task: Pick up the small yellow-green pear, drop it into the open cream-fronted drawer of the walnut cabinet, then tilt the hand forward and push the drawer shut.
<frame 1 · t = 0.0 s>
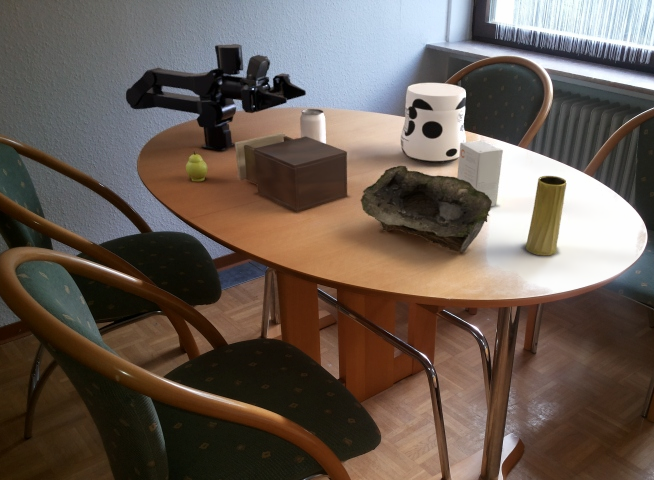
hand: (296, 96, 159), 17 cm above the table, tool horizontal, fingers open, 9 cm apart
drawer: (272, 160, 152), point 5 cm above the table, slide at 7.5 cm
pear: (198, 179, 154), on the table
can: (313, 157, 171), on the table
grey rough hollow block: (424, 241, 129), on the table
cabinet: (302, 195, 148), on the table
vase: (540, 249, 128), on the table
milk container: (431, 158, 174), on the table
small box: (475, 202, 148), on the table
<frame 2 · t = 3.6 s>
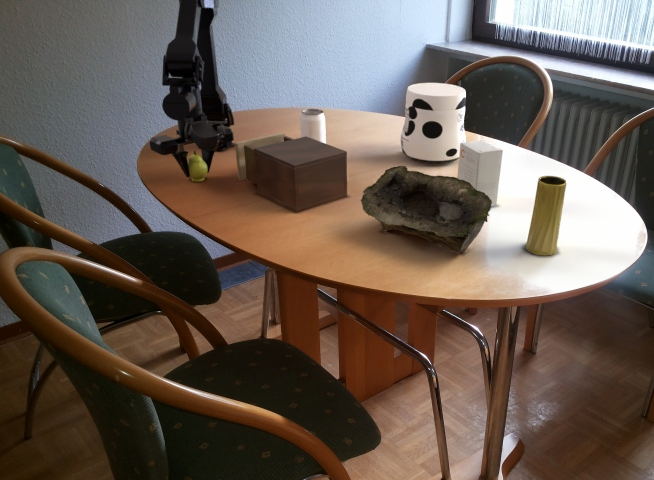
hand: (197, 174, 154), 1 cm above the table, tool pointing down, fingers closed on pear, 5 cm apart
pear: (198, 179, 154), on the table, touching gripper
everything else where it was.
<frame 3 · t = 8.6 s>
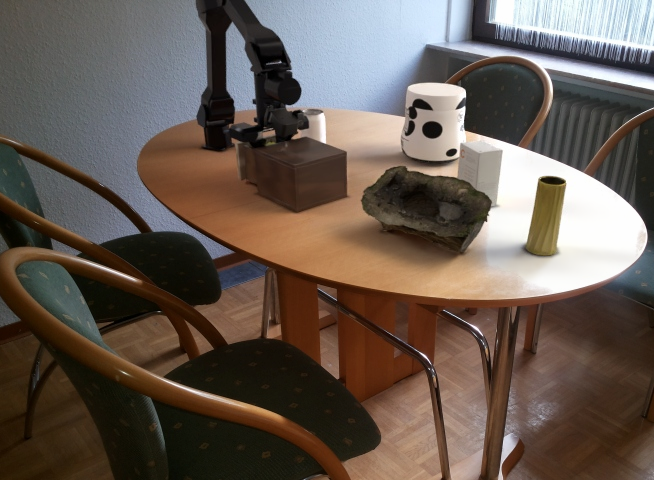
hand: (272, 163, 152), 5 cm above the table, tool pointing down, fingers closed on pear, 5 cm apart
drawer: (272, 160, 152), point 5 cm above the table, slide at 7.5 cm, touching gripper
pear: (273, 168, 153), point 3 cm above the table, touching gripper
everything else where it was.
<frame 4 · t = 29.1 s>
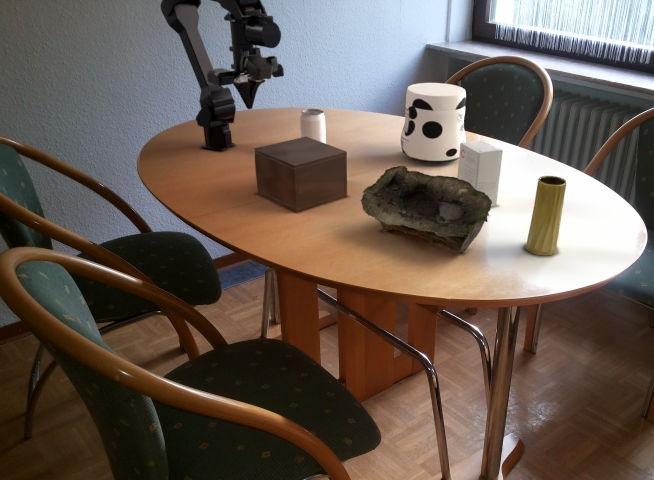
hand: (249, 108, 162), 13 cm above the table, tool pointing down, fingers closed
drawer: (291, 168, 147), point 5 cm above the table, slide at 0.0 cm, touching pear
pear: (292, 182, 149), point 2 cm above the table, touching drawer
everything else where it was.
at the end: pear inside the target area in the cabinet (3.4 cm from its centre), point 2.0 cm above the cabinet's base; drawer slide at 0.0 cm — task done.
